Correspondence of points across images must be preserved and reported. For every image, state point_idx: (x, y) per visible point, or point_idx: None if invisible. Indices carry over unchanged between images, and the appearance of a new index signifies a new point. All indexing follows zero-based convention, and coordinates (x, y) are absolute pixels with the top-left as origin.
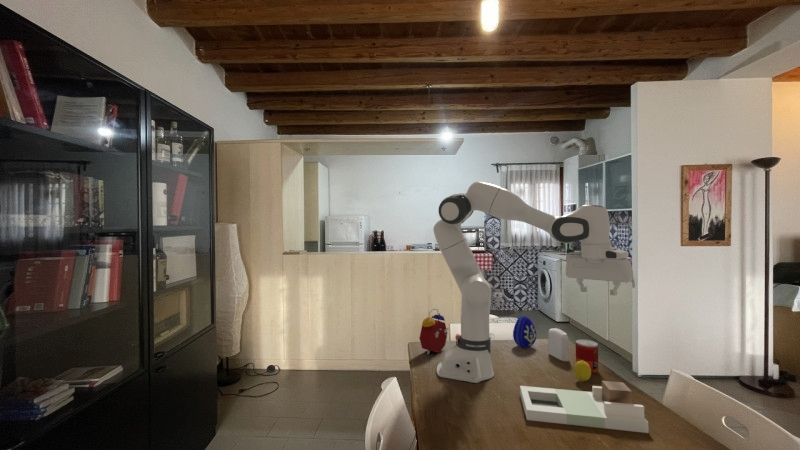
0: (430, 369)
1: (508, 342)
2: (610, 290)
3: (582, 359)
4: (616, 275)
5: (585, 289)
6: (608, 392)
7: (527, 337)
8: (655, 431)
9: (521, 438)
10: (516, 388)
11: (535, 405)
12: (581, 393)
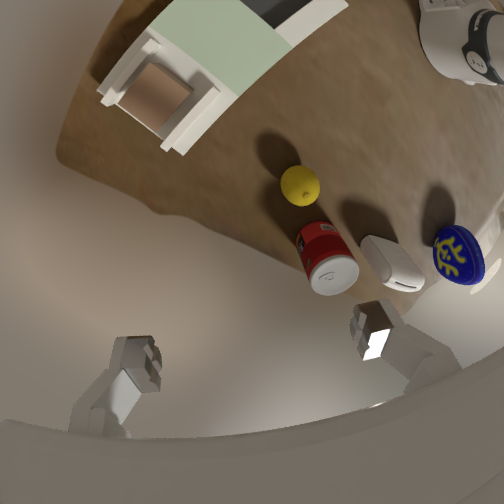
0: None
1: None
2: (138, 362)
3: (325, 235)
4: (44, 483)
5: (361, 329)
6: (155, 64)
7: (448, 243)
8: (102, 105)
9: None
10: (363, 28)
11: None
12: (239, 77)
